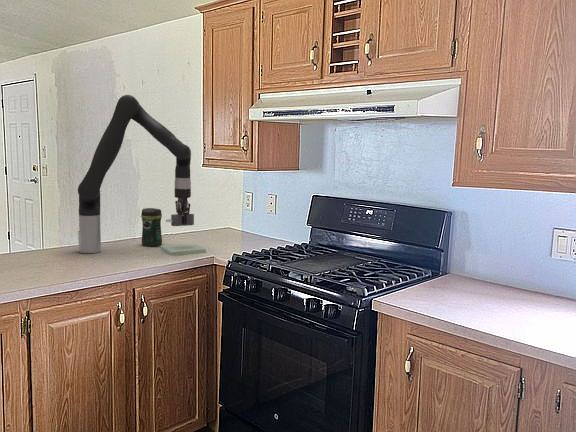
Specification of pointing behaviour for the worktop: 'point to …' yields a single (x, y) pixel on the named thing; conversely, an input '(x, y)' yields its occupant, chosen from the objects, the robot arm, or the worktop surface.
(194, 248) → the cutting board
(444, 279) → the worktop surface
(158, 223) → the coffee jar
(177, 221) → the connector
